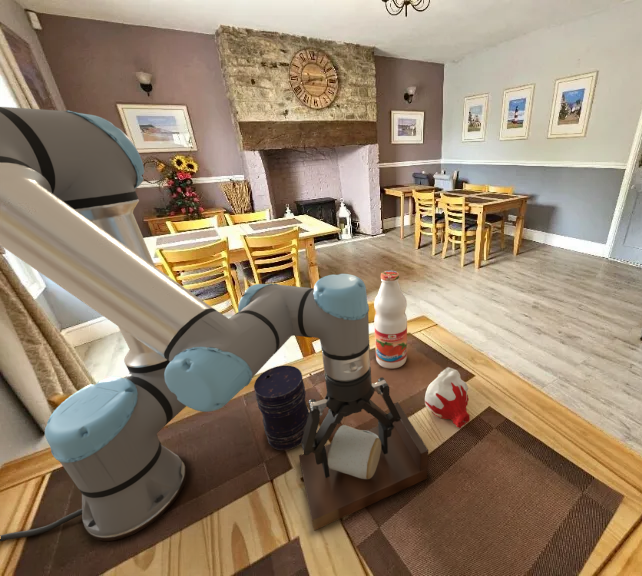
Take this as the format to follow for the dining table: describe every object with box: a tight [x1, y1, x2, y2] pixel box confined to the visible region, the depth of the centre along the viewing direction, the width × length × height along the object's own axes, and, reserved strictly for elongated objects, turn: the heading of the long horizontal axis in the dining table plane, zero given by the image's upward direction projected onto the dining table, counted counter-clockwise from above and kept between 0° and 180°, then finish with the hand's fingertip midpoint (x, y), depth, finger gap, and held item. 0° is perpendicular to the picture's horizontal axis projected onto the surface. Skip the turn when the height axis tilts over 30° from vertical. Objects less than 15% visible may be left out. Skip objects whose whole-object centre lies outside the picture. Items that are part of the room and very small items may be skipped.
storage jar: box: [253, 364, 310, 451], centre depth 68 cm, size 10×10×15 cm
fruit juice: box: [373, 270, 408, 369], centre depth 88 cm, size 9×9×28 cm
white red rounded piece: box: [424, 366, 471, 429], centre depth 73 cm, size 9×11×15 cm
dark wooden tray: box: [298, 402, 429, 531], centre depth 60 cm, size 22×13×8 cm, turn 113°
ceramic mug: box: [328, 424, 381, 479], centre depth 58 cm, size 11×8×8 cm
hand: (355, 459), depth 60 cm, fingers closed on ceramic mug, 11 cm apart
